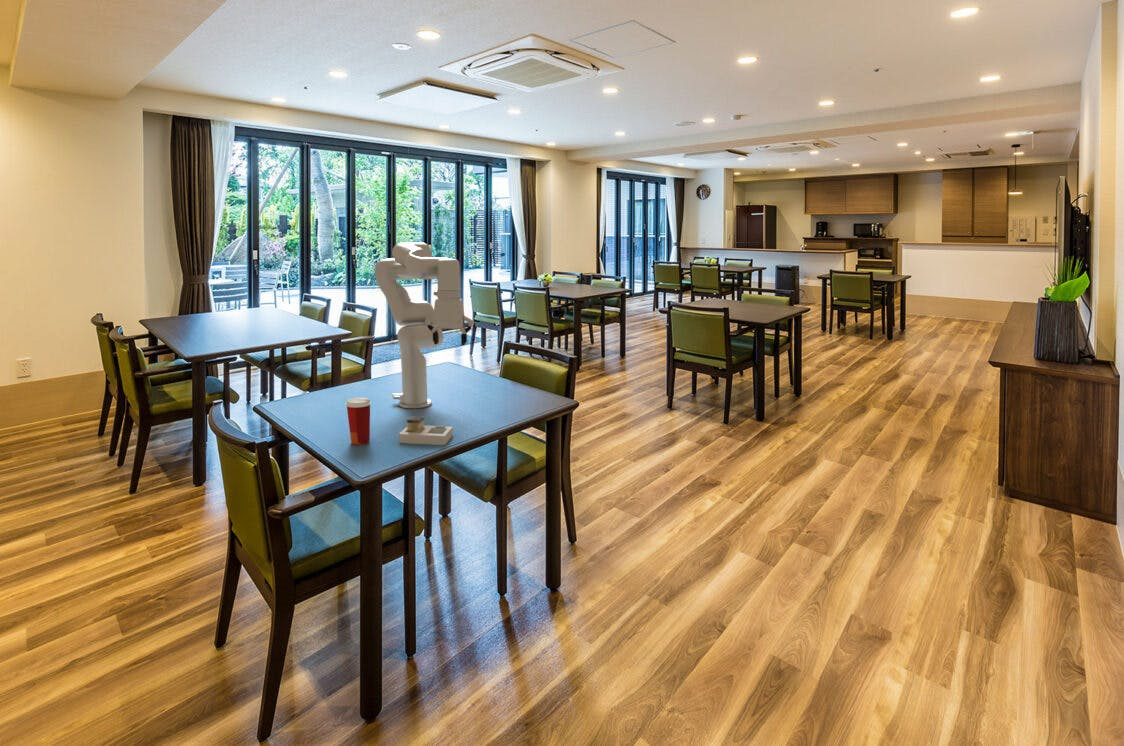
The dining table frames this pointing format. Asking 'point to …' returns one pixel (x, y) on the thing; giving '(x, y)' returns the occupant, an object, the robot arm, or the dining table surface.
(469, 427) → the dining table surface
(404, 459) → the dining table surface
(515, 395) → the dining table surface
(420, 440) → the socket block
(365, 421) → the paper cup
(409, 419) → the plug
